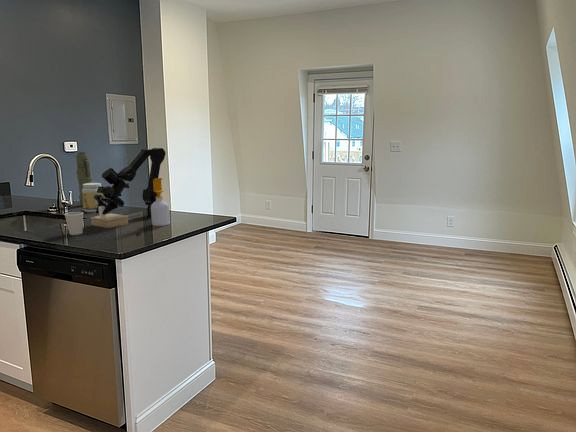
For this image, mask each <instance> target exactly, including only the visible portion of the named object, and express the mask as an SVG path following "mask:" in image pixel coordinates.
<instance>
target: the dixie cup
mask: <svg viewBox="0 0 576 432" xmlns="http://www.w3.org/2000/svg"><path fill="white" fill-rule="evenodd" d="M64 217H65V221H66V225H67V229H68V232H69V235H71V236H77V235H82V234H83V228H84V226H83V225H84V212H83V211H71V212H70V211H69V212H66V213H64Z"/></svg>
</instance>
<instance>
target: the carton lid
mask: <svg viewBox="0 0 576 432" xmlns="http://www.w3.org/2000/svg"><path fill="white" fill-rule="evenodd" d="M98 208H99V213H98V215H95V216H91V217H90V220H91V219H97V220H103V221H111V220H116V219H121V218H126V217H127V218H129V215H123V214H117V213H106V214H105V215H103V214H102V213H103V211H104V209H105V208H106V207H105V206H99V207H98Z"/></svg>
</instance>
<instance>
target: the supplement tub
mask: <svg viewBox="0 0 576 432" xmlns="http://www.w3.org/2000/svg"><path fill="white" fill-rule="evenodd" d="M98 186H102V183H101V182H92V183H86V184H83V189H82V198H83V206H82V208H83V211H84V212H86V213H96V209H97V206H98V201H96V200H95V199H94V198H93V197H94V196H95V195H97V194H98V195H102V196H103V194H102V193H98V192H97V189H98ZM103 197H104V198H105V196H103Z"/></svg>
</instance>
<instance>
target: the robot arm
mask: <svg viewBox="0 0 576 432" xmlns="http://www.w3.org/2000/svg"><path fill="white" fill-rule="evenodd" d="M165 157H166V151H165V149H164V148H162V147H153V148H151V149H149V148H142V149H140V152H139V153H138V154H137V156H135V157H134V159H133V160H132V161H131V163H130V164H128V165H127V166H125V167H124V168H122V169H121V170H120V171H119V172H117V171H115V170H114V168H112V167H109V168H108V169H106V170H105V171H104V172H102V174H101V177H102V179H103V180H104V181H106V182H107V183H108V184H109V185H112V186H109V185H106V186H103V185H101V186H98V189H97V192H98V193H102V194H103V196H104V197H103V196H102V195H98V194H97V195H95V196H94V197H93V198H94V199H95V200H96V201H98V206H97V209H96V212H95V213H96V214H98V215H99V208H98V207H99V206H105V209H104V211H103V213H102V214H103V215H105V214H109V213H110V212H112V211H113V210H115V209H118V208H123V207H124V206H125V201H124V200H123V199H122V198H121V197H122V193H123V191H124V189H130V186H129V182H132V181H133V180H134V179H135V177H136V175H137V172H138V169H140V167H141V166H142V164H144V163H145V161H146V160H147V159H148V158H150V161H151V165H150V171H149V177H148V182H147V187H146V188H145V189H142V194H141V196H142V200H143V201H144V204H145V206H147V207H146V214H147V215H146V216H147V217H151V205H152V204H153V203H154V202H155V201H156V196H157V194H156V192H154V188H153V180H154V179H155V178H160V177H159V176H160V170H161V164H162V163H163V161H164V160H165Z"/></svg>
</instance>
